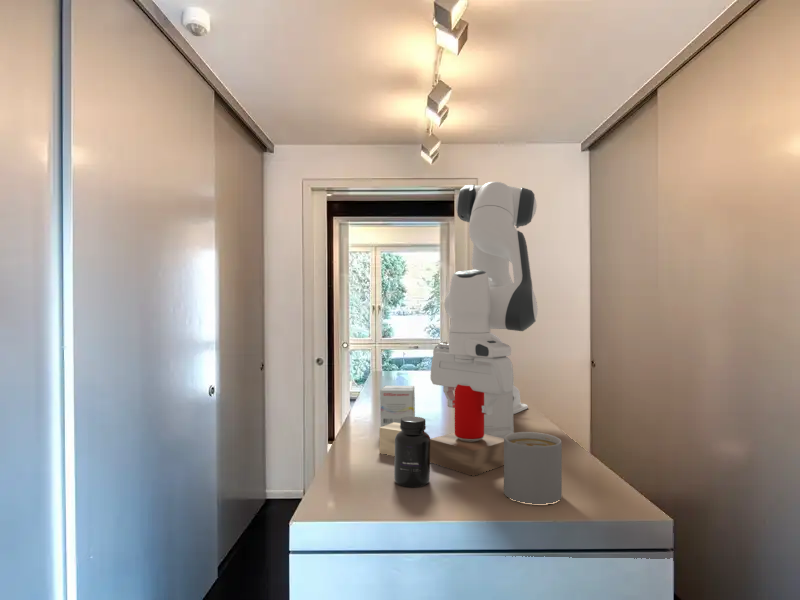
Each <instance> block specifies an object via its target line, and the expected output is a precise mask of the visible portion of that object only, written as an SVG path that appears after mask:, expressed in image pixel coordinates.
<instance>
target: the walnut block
mask: <svg viewBox="0 0 800 600" xmlns="http://www.w3.org/2000/svg"><path fill="white" fill-rule="evenodd" d="M430 462H431V463H430V464H433V463H434V465H436V464H438V465H437V466H439V465H441V466H440V467H443V466H444V468H446V467H447V468H446V469H449V468H450V469H449V470H452V469H453V470H452V471H455V470H456V472H458V471H459V473H462V472H463V474H465V475H469V476H471V475H472V477H476V476H478V474H479V475H481V474H484V473H487V472H489V470H490V471H492V469H493V470H494V469H495V470H496V469H498V468H501V467H504V466H503V465H504V438H500V437H495V436H491V435H487V434H484V437H483V438H482V439H480V440H479V441H476V442H465V441H462V440H460V439H459V438H457V437H456V435H455V432H452V433H447V434H445V435H444V434H443V435H440V436H436V437H433V438H430ZM486 471H487V472H486ZM483 472H484V473H483ZM480 473H481V474H480ZM475 475H476V476H475Z"/></svg>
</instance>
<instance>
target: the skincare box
mask: <svg viewBox="0 0 800 600" xmlns="http://www.w3.org/2000/svg"><path fill="white" fill-rule="evenodd" d="M487 400H488V398H486V393H484V405H486V402H487ZM514 426H515V425H514V414H513V390H512V391H511V393H509V394H506V395H497V400H496V401H495V403H494V405H493V413H492V414H491V415H486V414H484V434H487V435H491V436H495V437H500V438H504V437H505V436H506V435H507V434H510V433H515V432H514V430H515V429H514Z"/></svg>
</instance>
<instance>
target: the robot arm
mask: <svg viewBox="0 0 800 600" xmlns="http://www.w3.org/2000/svg"><path fill="white" fill-rule="evenodd" d="M537 206H538V205H537V200H536V196H535V193H534V192H533V190H531V189H528V188H525V187H517V186H516V187H515V186H510V185H507V184H506V183H504V182H501V181H490V182H487V183H485V184H483V185H482V184H480V185H479V184H478V185H475V184H468V185H464V186H463V187H462V188H460V190H459V193H458V194H457V196H456V199H455V209H456V210H455V211H456V213H457V217H458V218H459V219H460V220H461V221H463V222H466V223H469V224H468V234H469V238H470V240H471V242H472V243H473V245H472V246H473V247H472V257H471V266H472V269H465V270H458V271H456V272H454V273H453V274H452V275H451V281H450V286H449V291H448V293H447V294H446V296H445V299H444V304H443V306H444V309H445V313H446V314H447V316H448V317H449V318H450V325H449V328H448V343H447V344H446V343H443V342H441V343H438V344H437V345H436V346H435V347H433V350H432V353H433V355H432V358H431V367H430V381H431V383H432V384H433V385H434V386H435V385H436V386H441V387H442V388H443V393H444V395H445V397H446V400H447V408H452V409H455V393H454V392H453V391H455V388H456V386H457V385H458V384H459V383H461V384H467V385H469V386H470V387H471V388H472V390H473V391H478V392H484V393H486V398H488V400H487V402H486V405H482V414H486V415H491V414H492V413H493V405H494V403H495V401H496V400H497V395H506V394H509V393H511V391H512V390H513V415H515V414H518V413H520V412H522V411H524V410H527V409H528V408H529V405H528V404H526V403H523V402H521V392H520V390H519V388H518V387H517V386H515V385H514V384H515V383H514V368H513V367H514V366H513V362H512V360H511V359H510V356H511V355H512V347H511V346H510V345H508V344H506V343H505V342H503V341H502V339H501V338H500V336H498V335H496V334H494V333H493V332H491V330H508V331H515V332H518V331H519V332H524V331H526V330H527V329H529V328H531V326H532V325H533V324H535V322H536V321H537V317H538V310H539V309H538V301H537V298H536V295H535V292H534V289H533V281H532V273H531V266H530V265H531V264H530V258H529V252H528V245H527V241H526V238H525V235H524V233H523V232H521V231H520V230H517V229H519V228H521V227H524V226H527V225H528V224H530V223H531V222H532V220H533V218H534V216H535V215H536V212H537ZM510 263H511V265H512V272H513V273H512V274H513V275H512V276H513V280H512V278H511V273H510V268H509V267H510Z"/></svg>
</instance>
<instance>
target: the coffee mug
mask: <svg viewBox="0 0 800 600" xmlns="http://www.w3.org/2000/svg"><path fill="white" fill-rule="evenodd" d="M562 443H563V442H562V440H561V438H559V437H558V436H555V435H551V434H548V433H542V432H537V431H535V432H534V431H518V432H517V431H516V432H514V433H510V434H507V435H506V436H505V437H504V466H503V495H504V494H505V495H506V496H507V497H509V498H511V499H513V500H516V501H520V502H525V503H532V504H546V503H553V502H556V501H558V500H560V499H561V497H562V496H563V495H562V493H563V492H562V486H563V485H562V483H563V481H562V480H563V478H562V475H563V474H562V472H563V471H562V469H563V468H562V467H563V466H562V463H563V462H562V457H563V455H562V454H563V453H562V451H563V450H562V447H563V445H562ZM505 495H504V496H505ZM506 496H505V497H506ZM507 497H506V498H507ZM561 500H562V499H561Z"/></svg>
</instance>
